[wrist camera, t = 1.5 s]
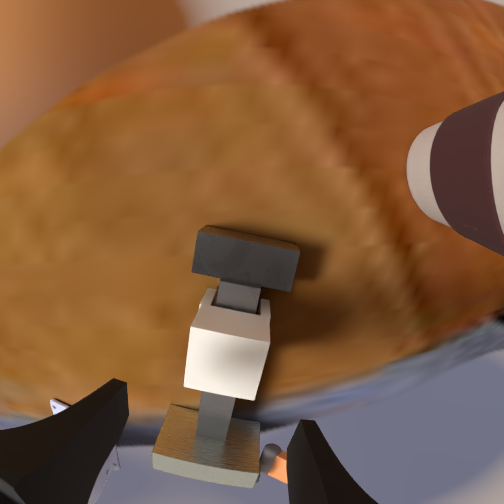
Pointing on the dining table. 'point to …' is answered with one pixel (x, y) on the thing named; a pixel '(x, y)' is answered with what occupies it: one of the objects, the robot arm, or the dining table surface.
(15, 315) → the dining table surface
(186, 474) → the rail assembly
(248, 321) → the carriage
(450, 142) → the coffee cup
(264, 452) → the lever
